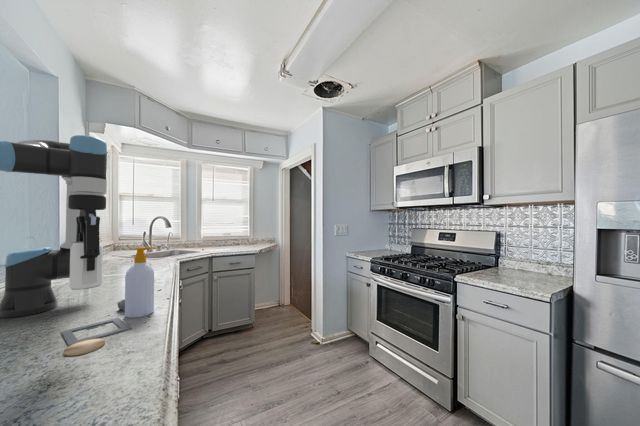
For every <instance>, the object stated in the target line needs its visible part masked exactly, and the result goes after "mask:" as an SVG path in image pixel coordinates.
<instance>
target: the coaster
mask: <svg viewBox="0 0 640 426" xmlns="http://www.w3.org/2000/svg"><path fill="white" fill-rule="evenodd" d="M105 343H106V341H105V339H103V338H98V339H90V340H85V341H81V342H78V343H75V344H73V345H71V346H67V347H65V349H63V355H64V356H65V357H67V356H68V357H69V356H70V357H73V356H80V355H81V356H82V355H84V354H88V353H91V352H94V351H96V350H99V349H101V348H102V347H103V346H105Z"/></svg>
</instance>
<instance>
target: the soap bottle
mask: <svg viewBox="0 0 640 426" xmlns="http://www.w3.org/2000/svg"><path fill="white" fill-rule="evenodd" d="M151 249H153V250H156V249H157V247H154V246H152V247H151V246H150V247H148V246H147V247H136V254H135V255H134V263H133V265H131V266H130V267H129V268H128V269H127V271H126V273H125V277H124V281H125V282H124V283H125V284H124V285H125V286H124V299H125V311H124V316H125V317H126V318H130V319H132V318H134V319H135V318H140V317H145V316H149V315H150V314H152V313H153V312H154V310H155V270H154V268H153V267H152V266H151V265H150V264H148V263H147V255H145V250H151Z"/></svg>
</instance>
